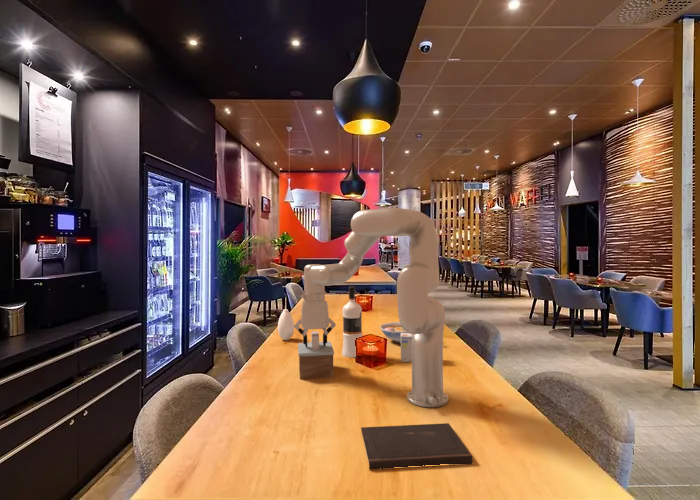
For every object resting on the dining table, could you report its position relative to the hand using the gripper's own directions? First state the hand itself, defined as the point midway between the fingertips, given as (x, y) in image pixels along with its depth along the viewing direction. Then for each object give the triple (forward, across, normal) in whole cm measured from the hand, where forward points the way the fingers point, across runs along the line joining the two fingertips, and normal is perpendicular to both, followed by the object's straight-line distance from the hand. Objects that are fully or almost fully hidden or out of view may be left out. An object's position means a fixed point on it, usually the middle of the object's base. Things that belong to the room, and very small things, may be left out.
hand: (315, 345), depth 147 cm
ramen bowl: (+11, +45, +40) cm, 61 cm away
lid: (+3, 0, 0) cm, 3 cm away
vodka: (+11, +17, +20) cm, 28 cm away
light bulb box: (+11, +41, +10) cm, 44 cm away
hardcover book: (+12, +20, -57) cm, 61 cm away
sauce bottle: (+11, -12, +54) cm, 56 cm away
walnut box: (+11, 0, 0) cm, 11 cm away
